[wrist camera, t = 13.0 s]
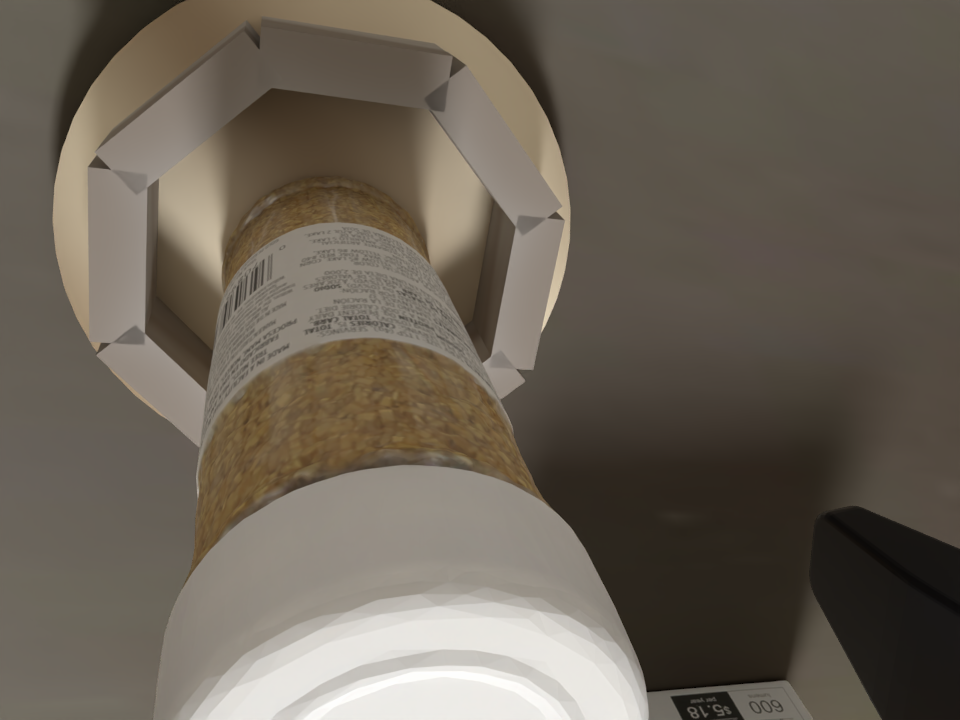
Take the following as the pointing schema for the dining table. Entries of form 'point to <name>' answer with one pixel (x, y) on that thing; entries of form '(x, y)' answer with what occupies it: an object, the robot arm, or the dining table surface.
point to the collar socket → (301, 173)
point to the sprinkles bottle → (372, 501)
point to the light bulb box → (729, 703)
